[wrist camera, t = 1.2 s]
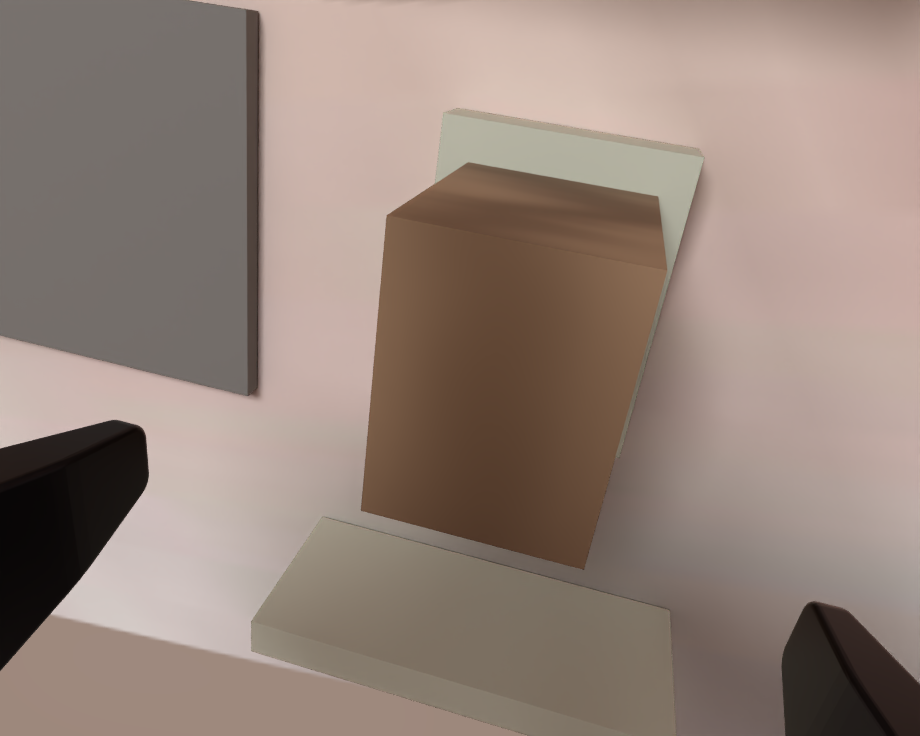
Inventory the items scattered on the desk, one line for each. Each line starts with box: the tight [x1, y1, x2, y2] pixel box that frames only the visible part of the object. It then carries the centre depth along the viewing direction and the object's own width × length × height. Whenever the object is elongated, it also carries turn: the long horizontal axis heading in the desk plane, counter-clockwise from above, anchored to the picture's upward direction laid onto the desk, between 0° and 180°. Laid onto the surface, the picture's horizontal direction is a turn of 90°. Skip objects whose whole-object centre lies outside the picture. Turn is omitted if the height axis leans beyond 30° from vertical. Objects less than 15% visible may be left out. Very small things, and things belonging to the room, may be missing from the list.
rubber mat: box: [0, 0, 258, 396], centre depth 21 cm, size 11×11×1 cm
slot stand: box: [251, 108, 704, 736], centre depth 17 cm, size 12×22×5 cm, turn 172°
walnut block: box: [361, 162, 667, 570], centre depth 15 cm, size 4×6×6 cm
